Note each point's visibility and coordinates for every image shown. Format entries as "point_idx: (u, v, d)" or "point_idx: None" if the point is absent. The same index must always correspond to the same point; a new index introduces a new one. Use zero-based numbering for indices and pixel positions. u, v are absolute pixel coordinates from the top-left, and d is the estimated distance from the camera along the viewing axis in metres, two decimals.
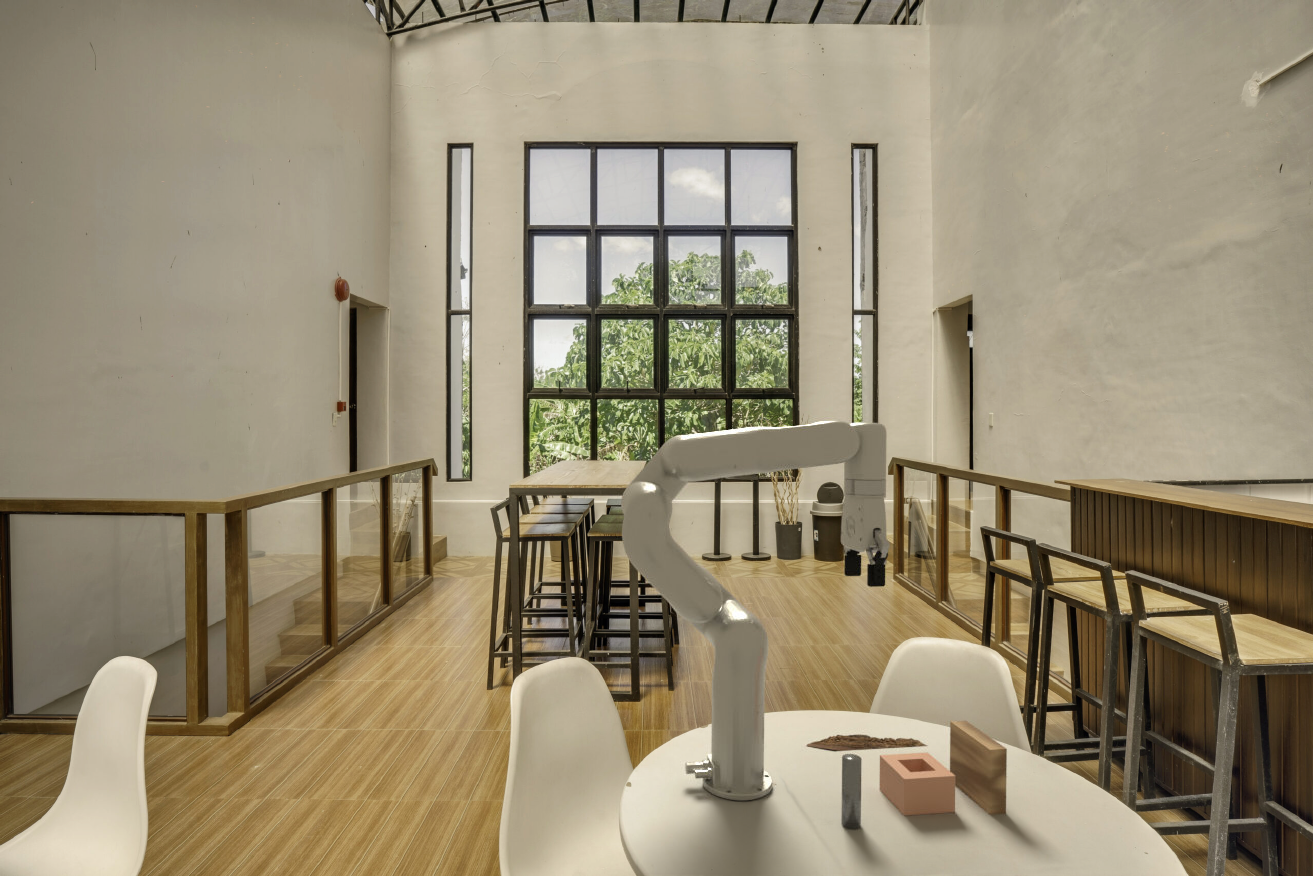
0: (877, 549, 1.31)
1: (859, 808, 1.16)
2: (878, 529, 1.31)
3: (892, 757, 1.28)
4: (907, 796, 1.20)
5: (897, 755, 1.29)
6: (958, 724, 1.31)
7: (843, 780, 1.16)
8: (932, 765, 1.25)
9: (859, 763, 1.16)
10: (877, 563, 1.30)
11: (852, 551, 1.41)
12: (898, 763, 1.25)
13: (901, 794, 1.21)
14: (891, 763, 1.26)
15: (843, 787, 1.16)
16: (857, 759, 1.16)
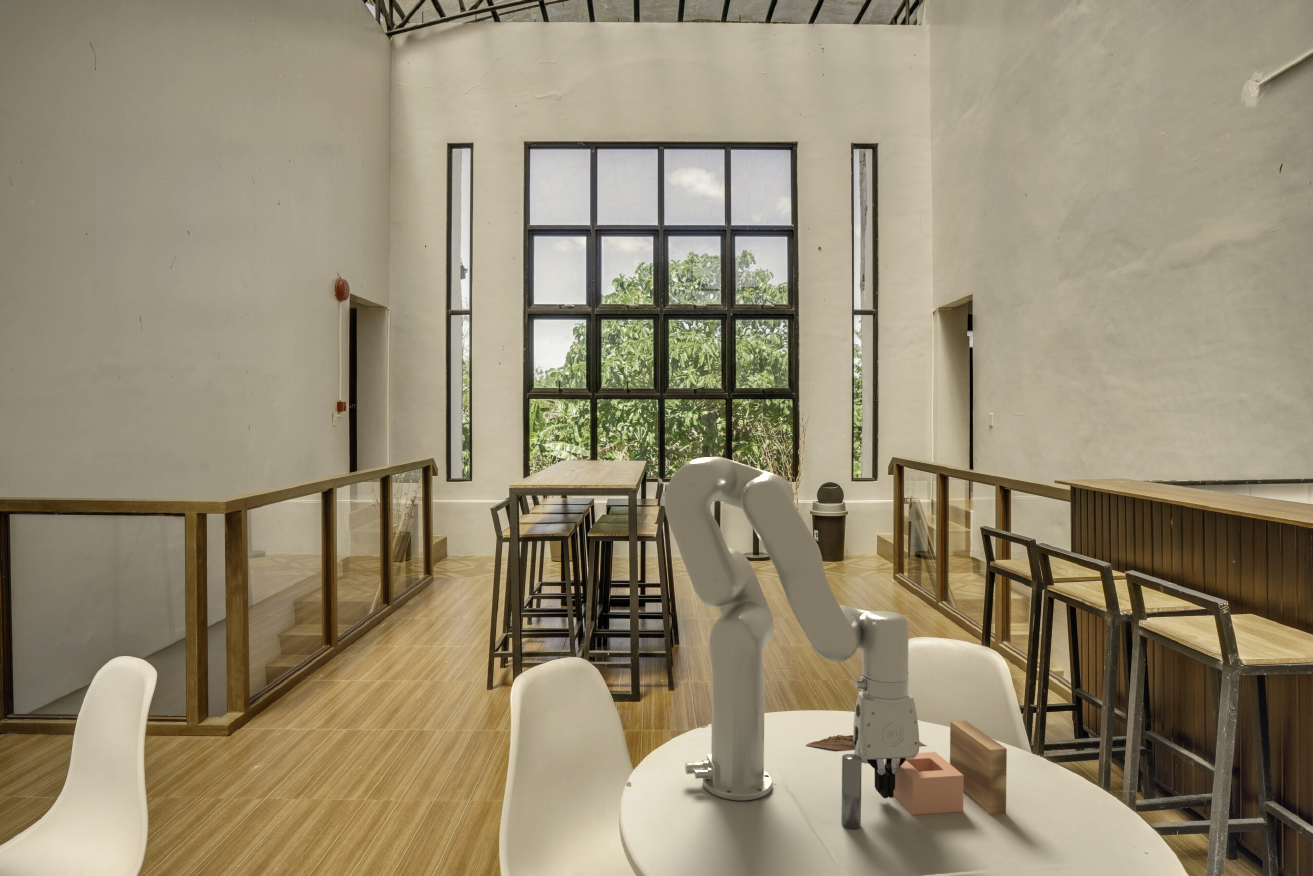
0: None
1: (859, 808, 1.16)
2: None
3: None
4: (915, 795, 1.20)
5: None
6: (958, 724, 1.31)
7: (843, 780, 1.16)
8: (940, 765, 1.25)
9: (859, 763, 1.16)
10: None
11: None
12: (906, 763, 1.26)
13: (910, 794, 1.21)
14: None
15: (843, 787, 1.16)
16: (857, 759, 1.16)
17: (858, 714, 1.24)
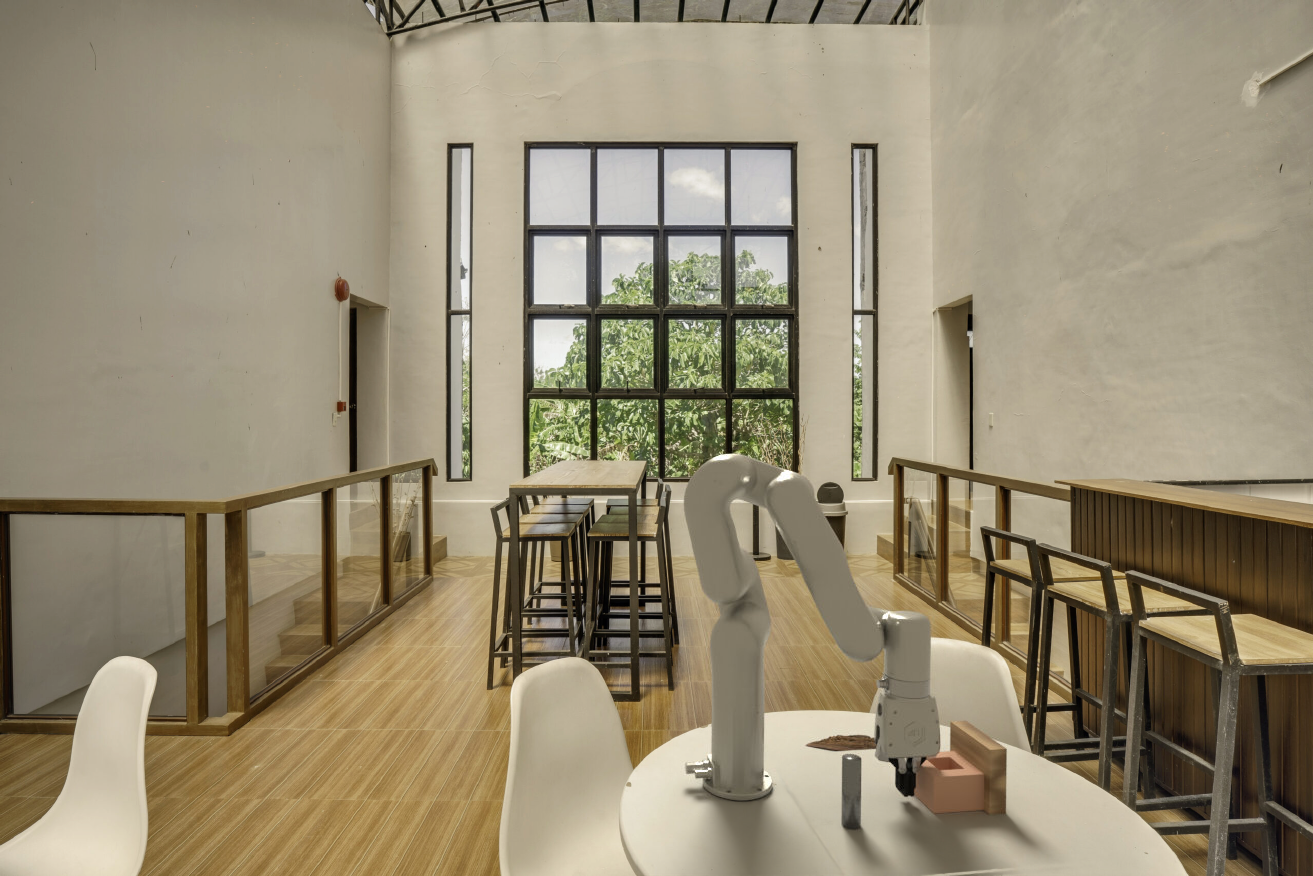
0: None
1: (859, 808, 1.16)
2: None
3: None
4: (936, 794, 1.21)
5: None
6: (958, 724, 1.31)
7: (843, 780, 1.16)
8: (960, 763, 1.26)
9: (859, 763, 1.16)
10: None
11: None
12: (926, 761, 1.26)
13: (931, 792, 1.21)
14: None
15: (843, 787, 1.16)
16: (857, 759, 1.16)
17: (880, 713, 1.24)
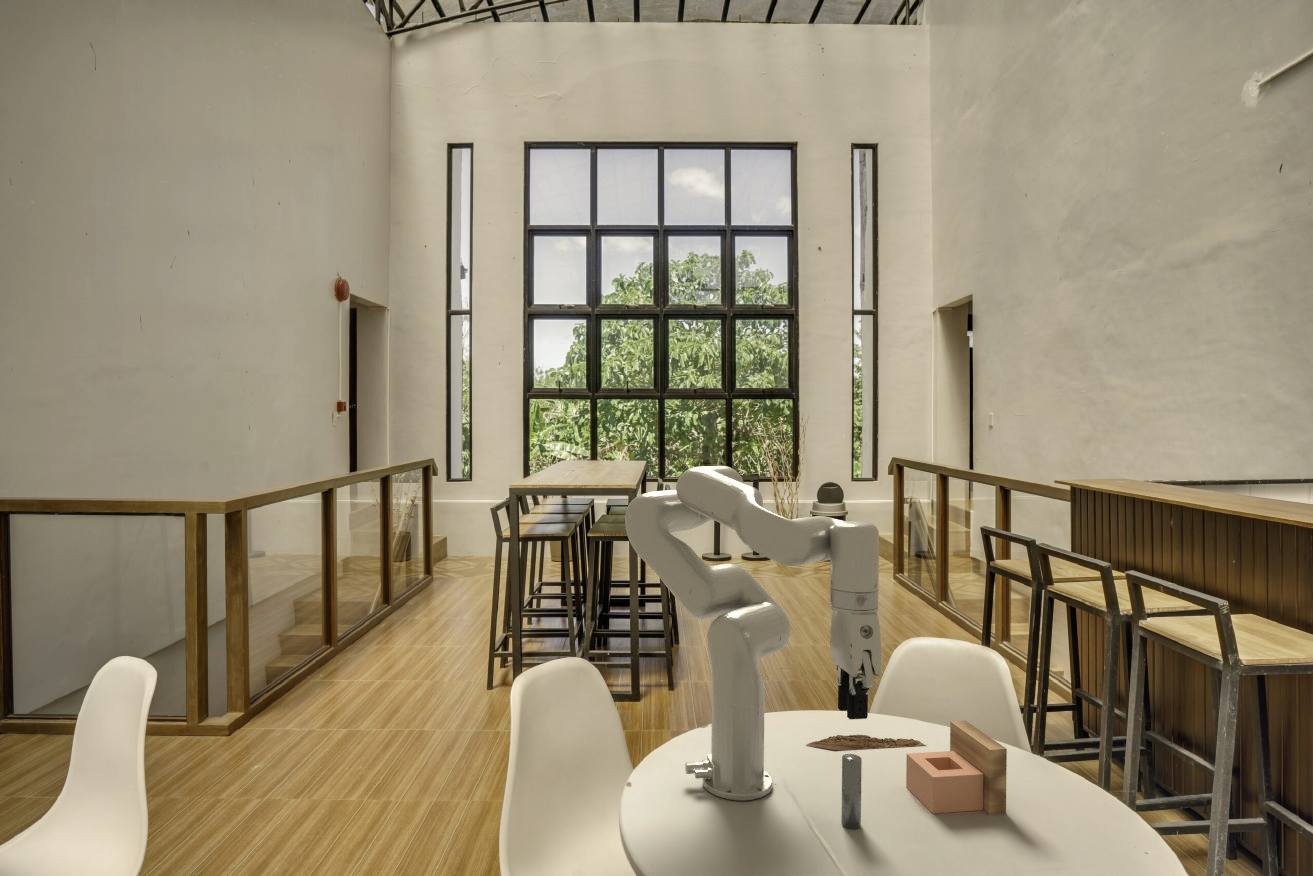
0: None
1: (859, 808, 1.16)
2: None
3: (919, 755, 1.29)
4: (935, 794, 1.21)
5: (924, 753, 1.29)
6: (958, 724, 1.31)
7: (843, 780, 1.16)
8: (959, 763, 1.26)
9: (859, 763, 1.16)
10: None
11: None
12: (925, 761, 1.26)
13: (930, 793, 1.21)
14: (919, 761, 1.26)
15: (843, 787, 1.16)
16: (857, 759, 1.16)
17: (862, 636, 1.12)
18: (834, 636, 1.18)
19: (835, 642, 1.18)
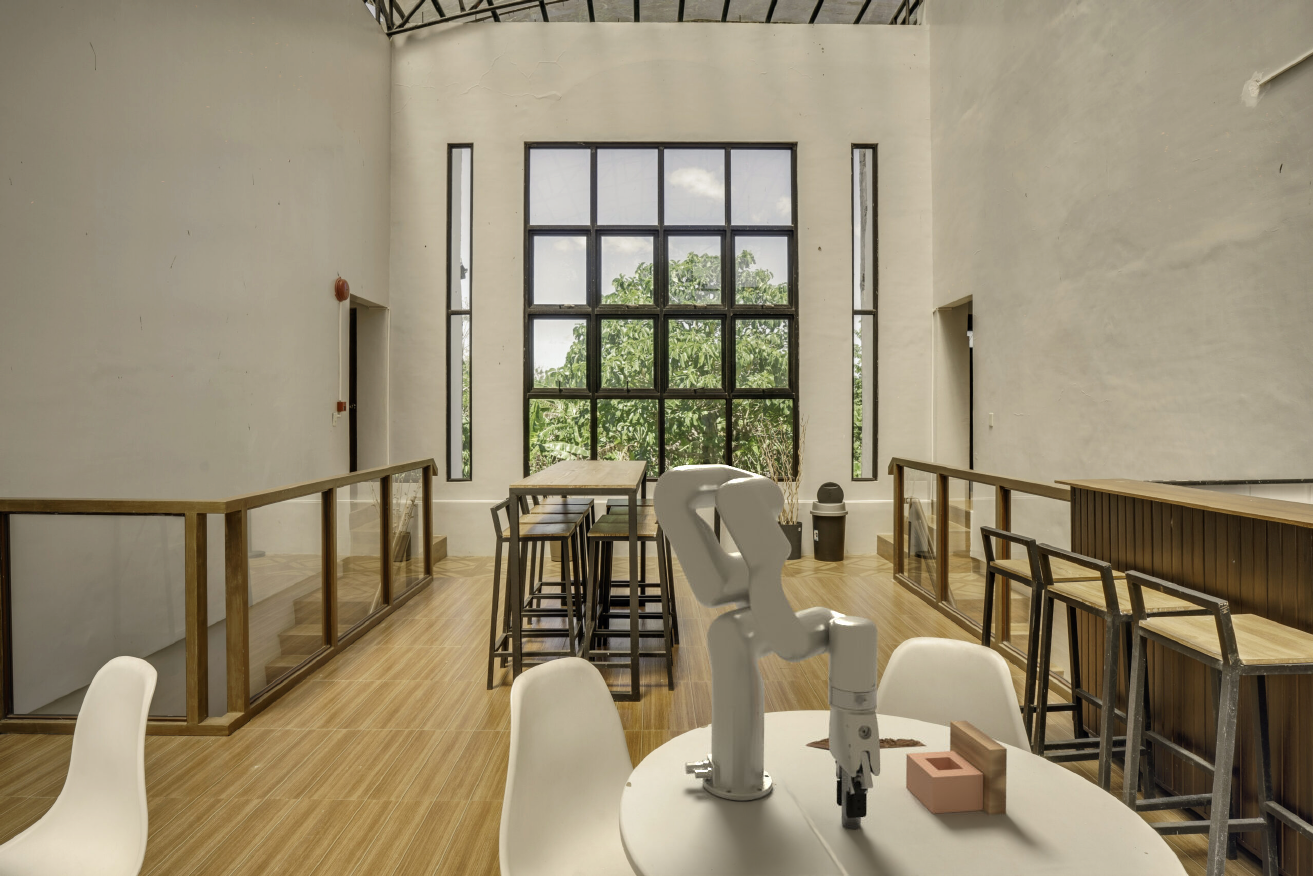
0: None
1: None
2: None
3: (919, 755, 1.29)
4: (935, 794, 1.21)
5: (924, 753, 1.29)
6: (958, 724, 1.31)
7: (843, 780, 1.16)
8: (959, 763, 1.26)
9: None
10: None
11: None
12: (925, 761, 1.26)
13: (930, 793, 1.21)
14: (919, 761, 1.26)
15: (843, 787, 1.16)
16: None
17: (860, 737, 1.12)
18: (833, 731, 1.18)
19: (834, 738, 1.18)
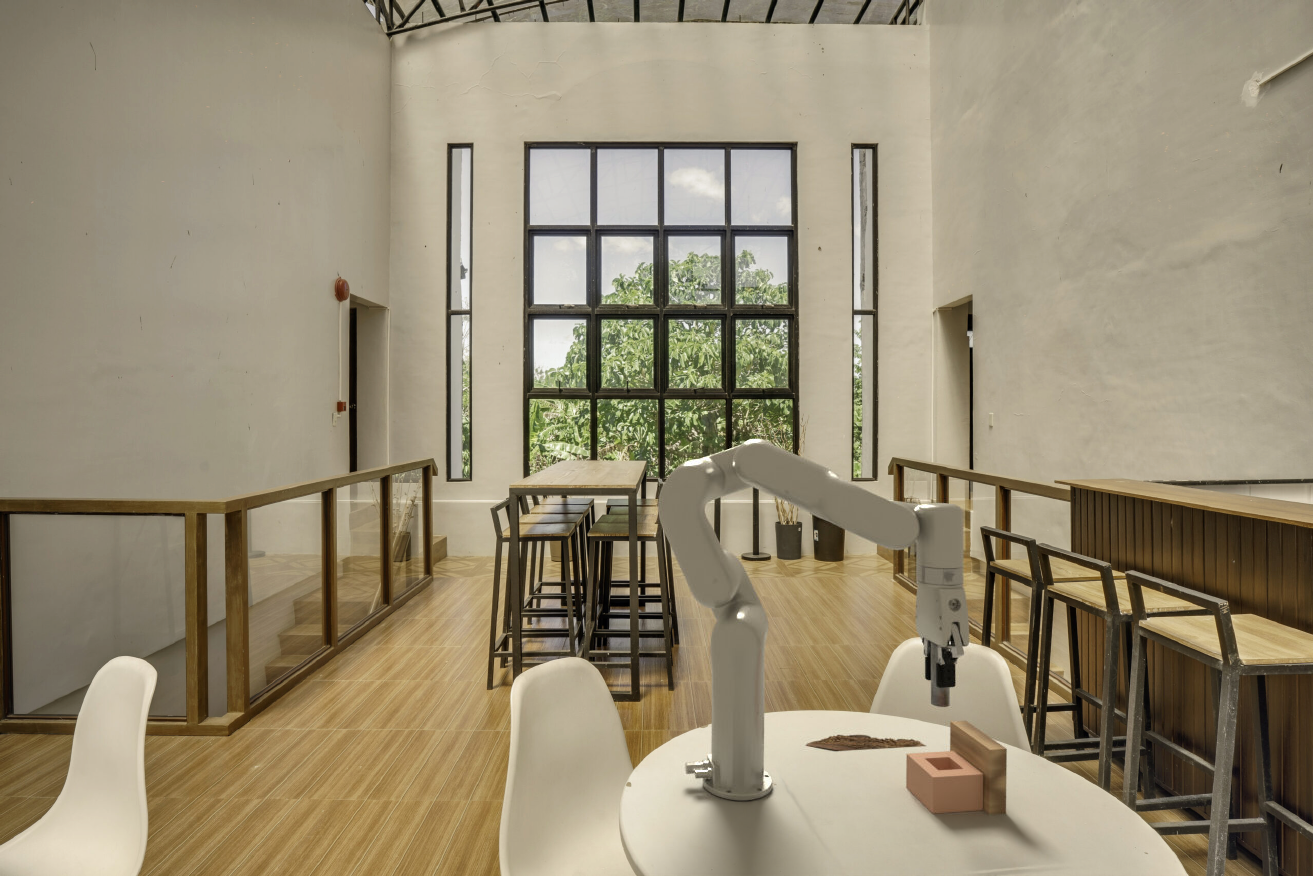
0: None
1: None
2: None
3: (919, 755, 1.29)
4: (935, 794, 1.21)
5: (924, 753, 1.29)
6: (958, 724, 1.31)
7: (932, 654, 1.24)
8: (959, 763, 1.26)
9: None
10: None
11: None
12: (925, 761, 1.26)
13: (930, 793, 1.21)
14: (919, 761, 1.26)
15: (932, 660, 1.24)
16: None
17: (950, 609, 1.20)
18: (921, 610, 1.26)
19: (922, 616, 1.26)
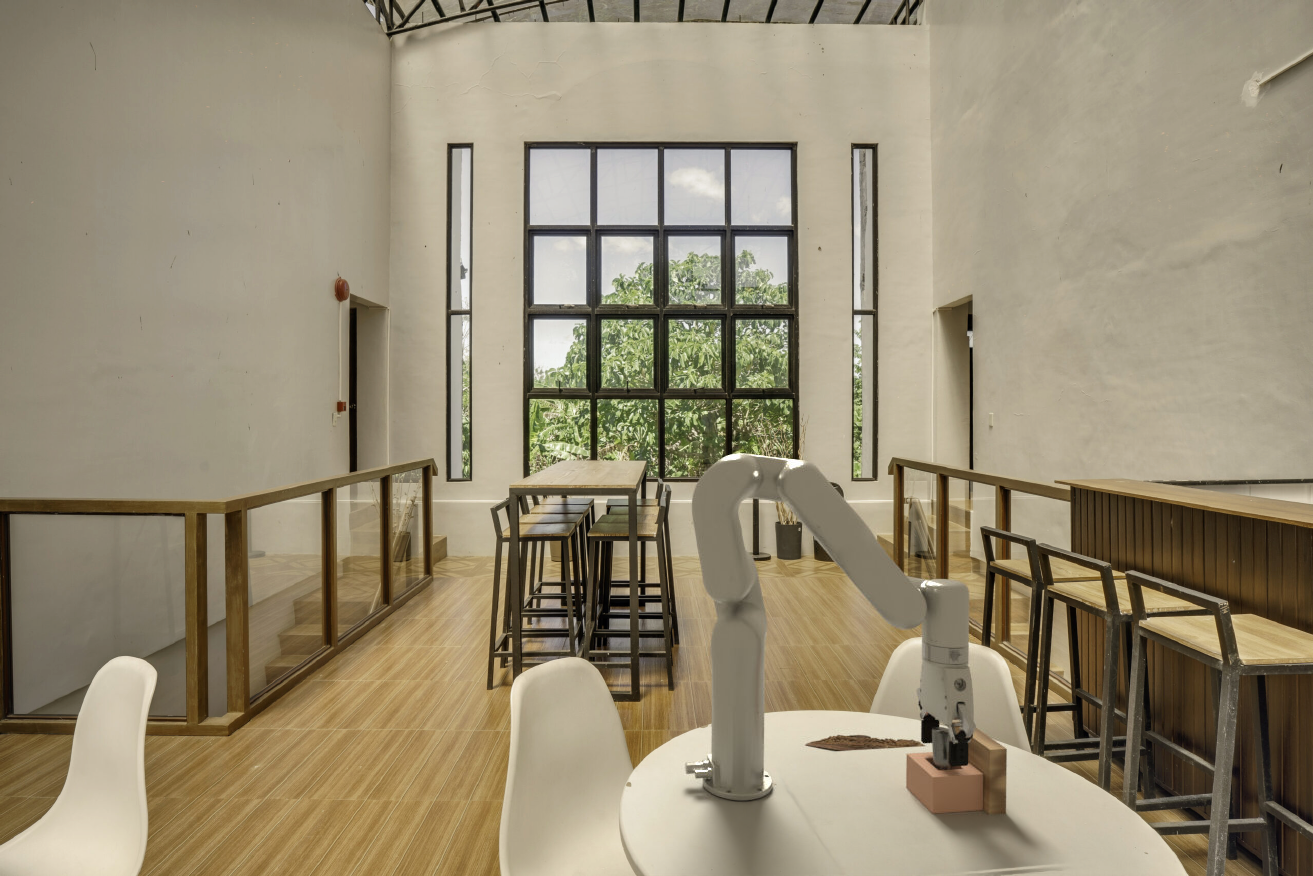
0: None
1: None
2: None
3: (919, 755, 1.29)
4: (935, 794, 1.21)
5: (924, 753, 1.29)
6: None
7: (935, 751, 1.25)
8: None
9: (949, 734, 1.24)
10: None
11: None
12: (925, 761, 1.26)
13: (930, 793, 1.21)
14: (919, 761, 1.26)
15: (935, 758, 1.25)
16: (946, 731, 1.25)
17: (955, 689, 1.21)
18: (925, 686, 1.27)
19: (927, 692, 1.27)
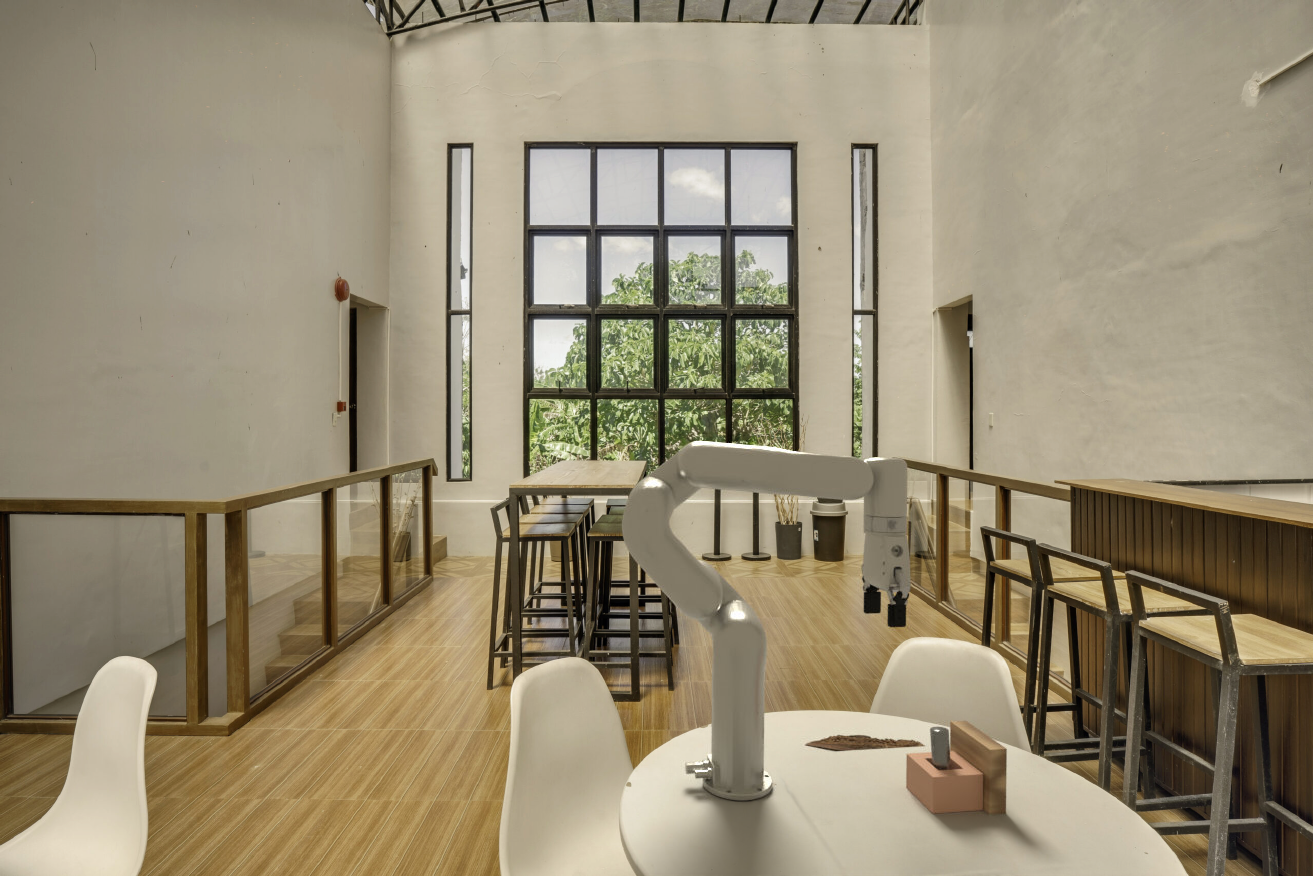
0: None
1: None
2: None
3: (919, 755, 1.29)
4: (935, 794, 1.21)
5: (924, 753, 1.29)
6: (958, 724, 1.31)
7: (934, 751, 1.25)
8: (959, 763, 1.26)
9: (948, 734, 1.25)
10: None
11: None
12: (925, 761, 1.26)
13: (930, 793, 1.21)
14: (919, 761, 1.26)
15: (934, 758, 1.25)
16: (944, 730, 1.25)
17: (893, 555, 1.28)
18: (867, 559, 1.34)
19: (868, 564, 1.33)
